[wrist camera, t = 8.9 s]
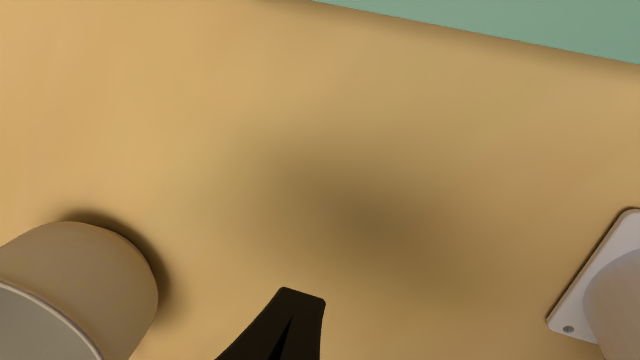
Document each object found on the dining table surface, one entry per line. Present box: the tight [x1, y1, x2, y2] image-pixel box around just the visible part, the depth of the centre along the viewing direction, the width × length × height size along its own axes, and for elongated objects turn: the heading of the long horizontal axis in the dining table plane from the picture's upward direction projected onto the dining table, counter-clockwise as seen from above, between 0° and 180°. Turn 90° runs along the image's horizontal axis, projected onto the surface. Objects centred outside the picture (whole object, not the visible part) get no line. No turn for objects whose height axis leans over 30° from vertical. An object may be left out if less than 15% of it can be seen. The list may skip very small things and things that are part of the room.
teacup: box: [0, 221, 158, 360], centre depth 25 cm, size 14×11×8 cm
